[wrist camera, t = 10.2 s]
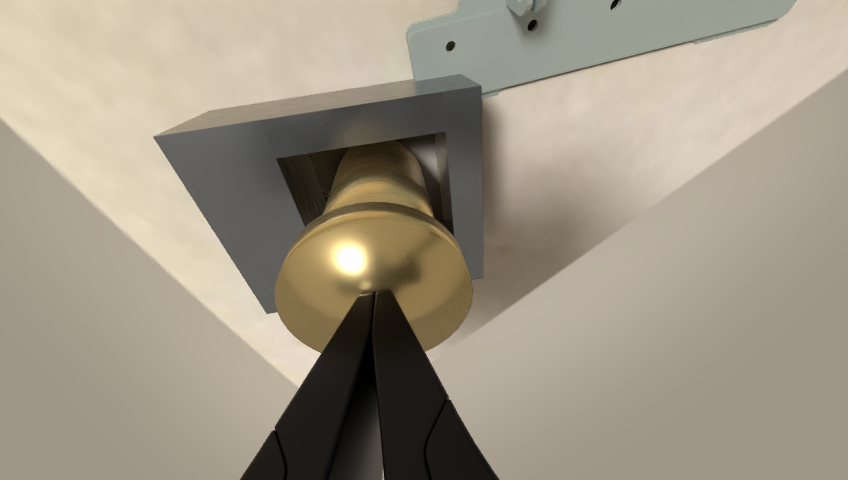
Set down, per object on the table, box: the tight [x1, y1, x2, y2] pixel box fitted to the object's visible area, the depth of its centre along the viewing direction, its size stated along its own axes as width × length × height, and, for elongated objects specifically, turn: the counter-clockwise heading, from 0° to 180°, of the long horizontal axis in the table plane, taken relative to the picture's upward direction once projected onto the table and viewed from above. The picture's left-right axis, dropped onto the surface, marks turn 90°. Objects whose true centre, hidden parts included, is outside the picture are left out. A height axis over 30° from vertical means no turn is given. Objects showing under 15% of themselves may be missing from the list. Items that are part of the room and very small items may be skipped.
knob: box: [274, 140, 473, 353], centre depth 11 cm, size 5×5×8 cm
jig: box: [154, 74, 483, 314], centre depth 13 cm, size 10×8×4 cm
